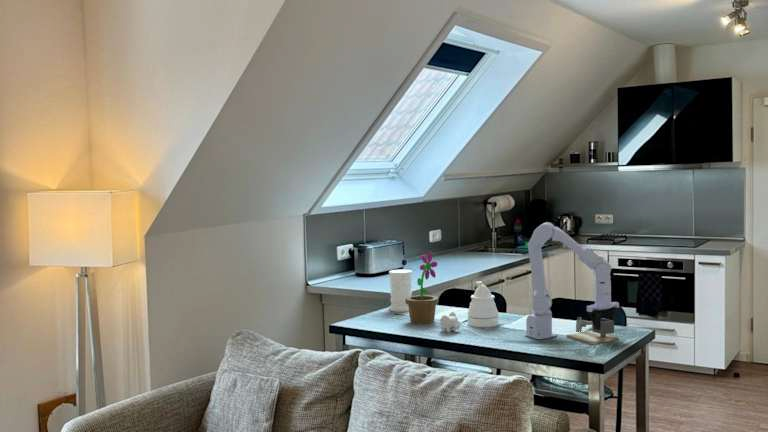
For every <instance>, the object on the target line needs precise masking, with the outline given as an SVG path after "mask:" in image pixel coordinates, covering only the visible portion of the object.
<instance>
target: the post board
mask: <svg viewBox="0 0 768 432" xmlns="http://www.w3.org/2000/svg"><path fill="white" fill-rule="evenodd" d="M567 337H568V338H567ZM566 338H567V339H570V338H572V339H571V340H574V339H575V340H574V341H577V340H578V341H577V342H581V343H584V342H585V344H588V345H595V344H601V343H606V342H612V341H618V340H619V339H620V338H619V336H616V335H613V334H611V333H609V334H599V333H596V332H592V330H588V331H581V332H579V333H576V332H575V333H571V334H570V333H569V334H566Z"/></svg>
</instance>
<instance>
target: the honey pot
mask: <svg viewBox="0 0 768 432" xmlns="http://www.w3.org/2000/svg"><path fill="white" fill-rule="evenodd" d="M475 283H476V286H477V287H476V289H475V291H474V293H473V294H471V296H470V299H471V301H470V302H469V307H468V310H467V325H468V324H469V325H468V326H470V325H471V327H477V328H478V327H479V328H491V327H496V326H498V325H499V310H498V308H497V306H496V303H495V298H496V297H495V295H494V294H492V293H491V291H490V290H489V288H488V287H487V286H486V285H485V284H483V281H476V282H475Z"/></svg>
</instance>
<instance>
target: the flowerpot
mask: <svg viewBox="0 0 768 432" xmlns="http://www.w3.org/2000/svg"><path fill="white" fill-rule="evenodd" d="M420 257H421V261H422V262H423V263H424V264H421V265H420V266H419V270H421V271H422V272H421V273H422V274H421V278H417V281H416V282H417V285H418V286H419V287H420V295H411V296H409V297H406V299H405V303H406V304H408V307H409V311H408V313H409V319H410V323H412V324H414V325H415V324H416V325H427V324H429V325H430V324H433V323H434V322H435V316H436V306H437V304H439V301H440V300H439V297H438V296H436V295H428V293H429V291H428V290H427V289H426V288H425V287H424V277H425V280H428V279H429V278H430V276H431V277H432V278H436V277H437V275H436V272H435V270H434V269H433V268H435V267H437V266H438V262H437V261H433V254H432V252H431V251H429V252H428V254H427V256H426V255H424V254H421V256H420ZM426 293H427V295H426ZM424 294H425V295H424Z"/></svg>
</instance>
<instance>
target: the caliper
mask: <svg viewBox="0 0 768 432" xmlns="http://www.w3.org/2000/svg"><path fill="white" fill-rule="evenodd" d="M575 321H576V322H575V333H576V332H579V331H580V332H579V333H581V332H582V329H583V328H586V327H587V326H592V320H586V319H582V317H580V316H578V317H577V319H576V320H575Z"/></svg>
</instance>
